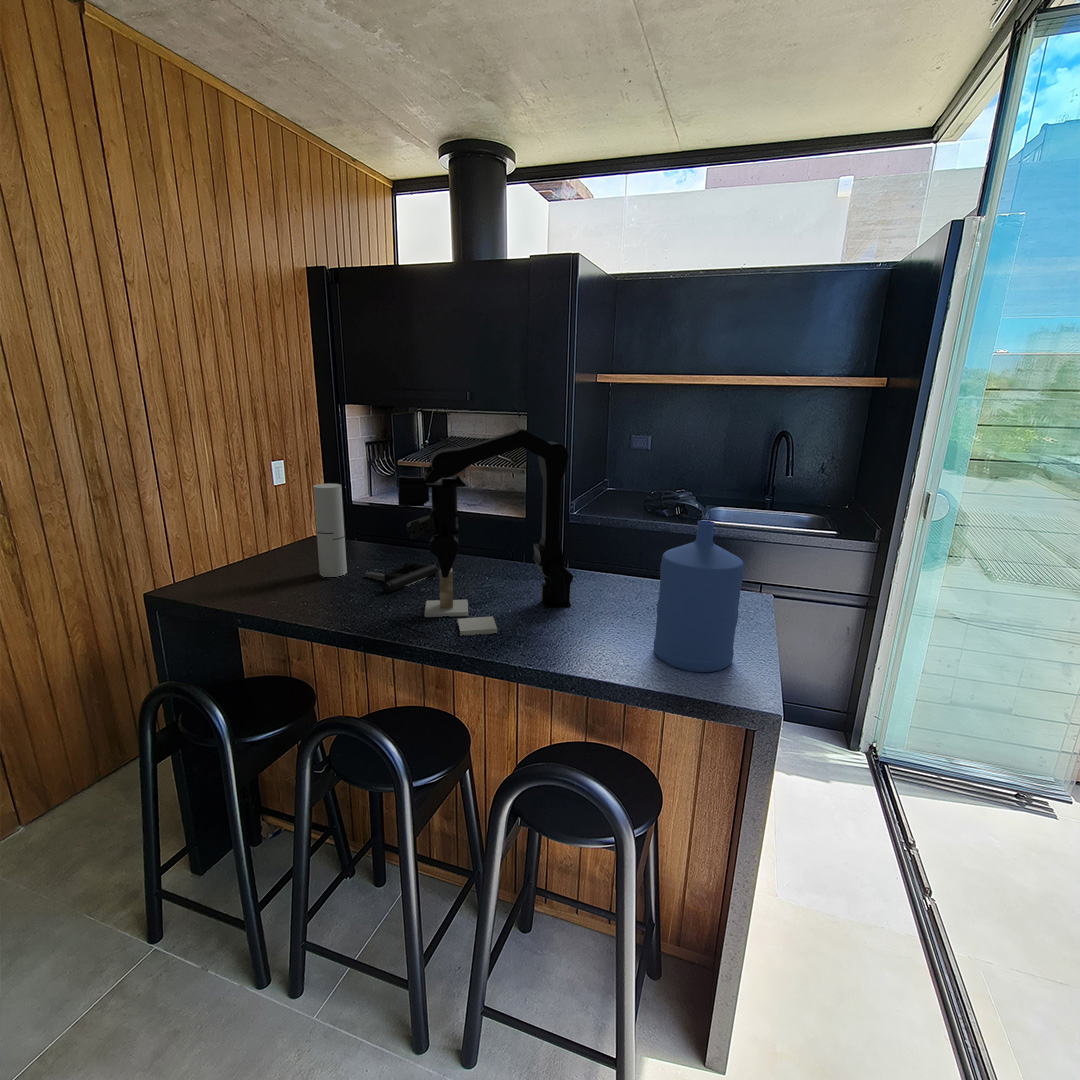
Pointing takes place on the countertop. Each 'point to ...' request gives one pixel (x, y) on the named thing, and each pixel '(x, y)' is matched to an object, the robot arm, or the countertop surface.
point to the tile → (477, 626)
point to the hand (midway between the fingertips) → (445, 571)
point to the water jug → (698, 604)
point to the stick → (446, 590)
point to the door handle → (404, 575)
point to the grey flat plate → (446, 609)
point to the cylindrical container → (330, 529)
